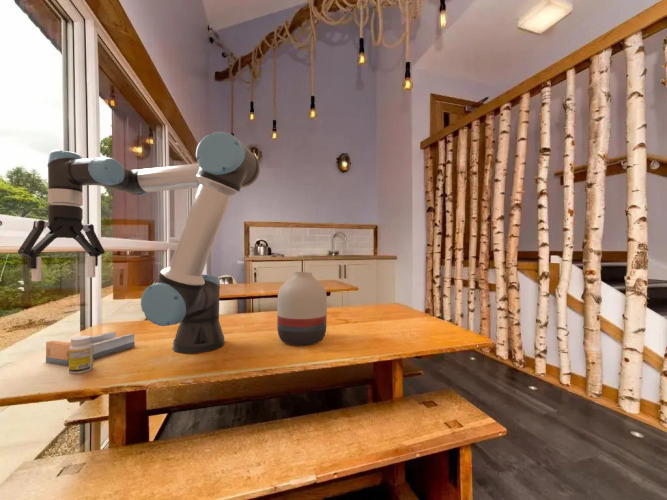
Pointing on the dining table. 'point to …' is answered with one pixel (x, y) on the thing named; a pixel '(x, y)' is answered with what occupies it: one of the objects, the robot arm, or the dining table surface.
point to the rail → (101, 347)
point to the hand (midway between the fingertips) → (65, 279)
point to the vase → (302, 310)
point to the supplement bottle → (80, 354)
